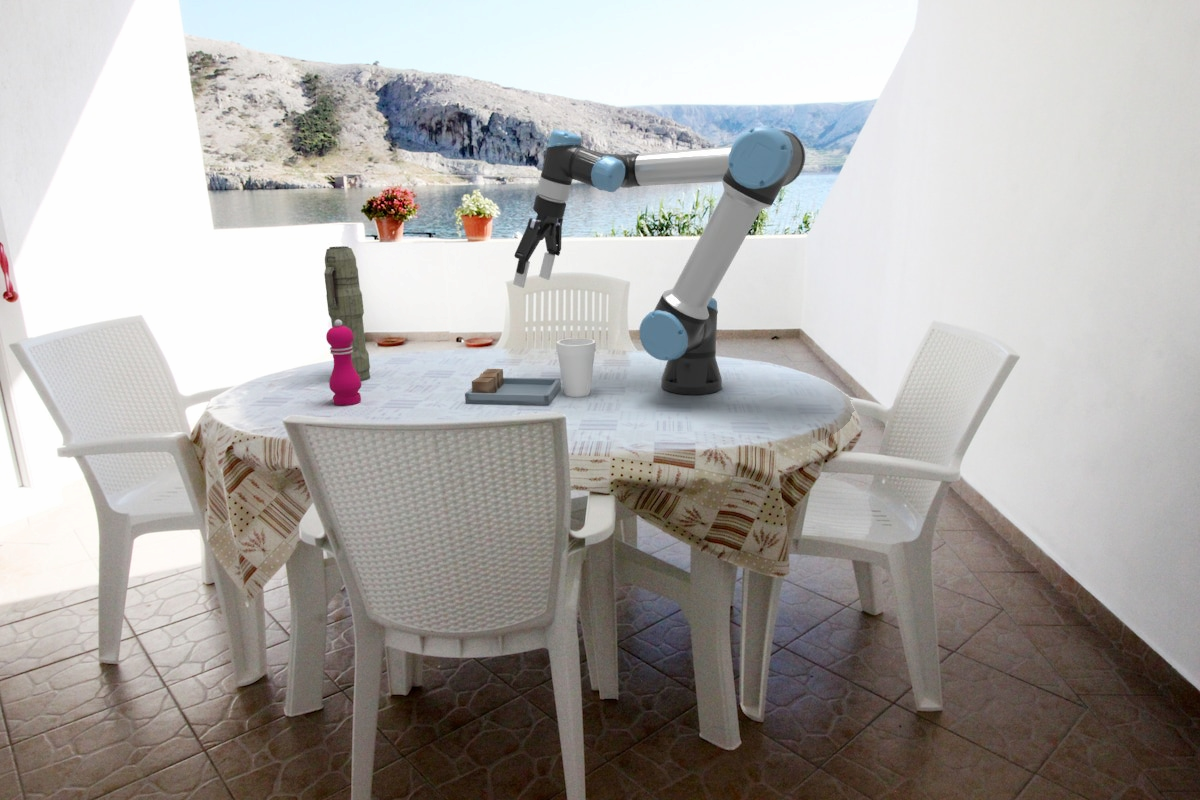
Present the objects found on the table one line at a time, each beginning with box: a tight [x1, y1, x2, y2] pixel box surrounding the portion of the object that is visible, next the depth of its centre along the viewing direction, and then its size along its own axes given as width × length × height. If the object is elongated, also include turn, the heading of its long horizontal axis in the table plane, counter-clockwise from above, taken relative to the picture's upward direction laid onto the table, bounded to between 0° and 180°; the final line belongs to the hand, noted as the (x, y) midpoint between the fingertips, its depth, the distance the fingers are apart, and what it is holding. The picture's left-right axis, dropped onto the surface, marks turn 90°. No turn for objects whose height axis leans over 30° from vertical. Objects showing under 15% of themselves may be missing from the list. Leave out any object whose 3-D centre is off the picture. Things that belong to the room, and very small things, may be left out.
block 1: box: [471, 376, 495, 393], centre depth 171 cm, size 4×4×4 cm
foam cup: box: [555, 337, 597, 398], centre depth 174 cm, size 10×9×13 cm
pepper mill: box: [325, 320, 362, 407], centre depth 168 cm, size 7×7×20 cm
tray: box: [464, 377, 562, 406], centre depth 175 cm, size 20×16×2 cm
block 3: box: [482, 368, 504, 388], centre depth 179 cm, size 4×4×4 cm
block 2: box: [478, 372, 498, 393], centre depth 175 cm, size 4×4×4 cm
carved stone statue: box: [323, 245, 371, 382], centre depth 188 cm, size 9×12×35 cm
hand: (531, 281), depth 179 cm, fingers open, 13 cm apart
